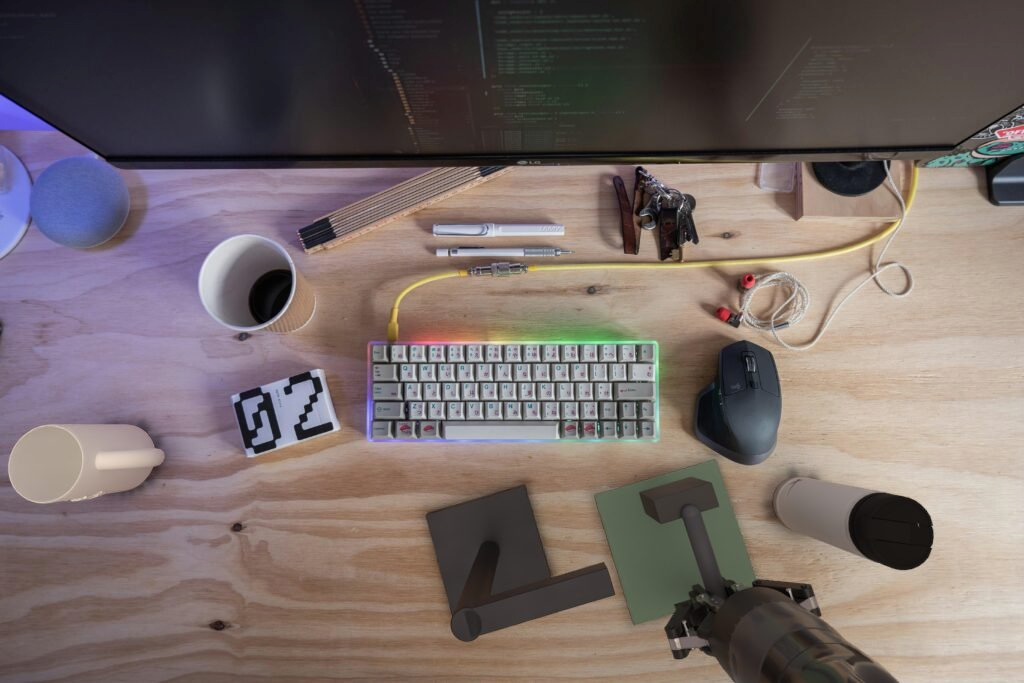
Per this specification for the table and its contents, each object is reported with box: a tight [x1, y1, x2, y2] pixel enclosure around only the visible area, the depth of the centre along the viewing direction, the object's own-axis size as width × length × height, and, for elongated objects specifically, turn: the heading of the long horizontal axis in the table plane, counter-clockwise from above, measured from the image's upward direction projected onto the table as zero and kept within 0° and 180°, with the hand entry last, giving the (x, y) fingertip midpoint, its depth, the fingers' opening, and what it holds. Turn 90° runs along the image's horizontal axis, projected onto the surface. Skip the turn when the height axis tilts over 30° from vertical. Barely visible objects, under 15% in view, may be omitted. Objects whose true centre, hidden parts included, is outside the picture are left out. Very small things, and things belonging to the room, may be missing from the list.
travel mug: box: [772, 476, 935, 571], centre depth 60 cm, size 6×7×20 cm
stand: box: [425, 483, 616, 643], centre depth 57 cm, size 12×17×27 cm
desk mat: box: [594, 458, 757, 626], centre depth 70 cm, size 15×15×1 cm
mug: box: [7, 423, 166, 505], centre depth 67 cm, size 8×12×12 cm
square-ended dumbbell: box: [639, 477, 729, 653], centre depth 60 cm, size 14×6×8 cm, turn 16°
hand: (710, 591), depth 59 cm, fingers closed on square-ended dumbbell
